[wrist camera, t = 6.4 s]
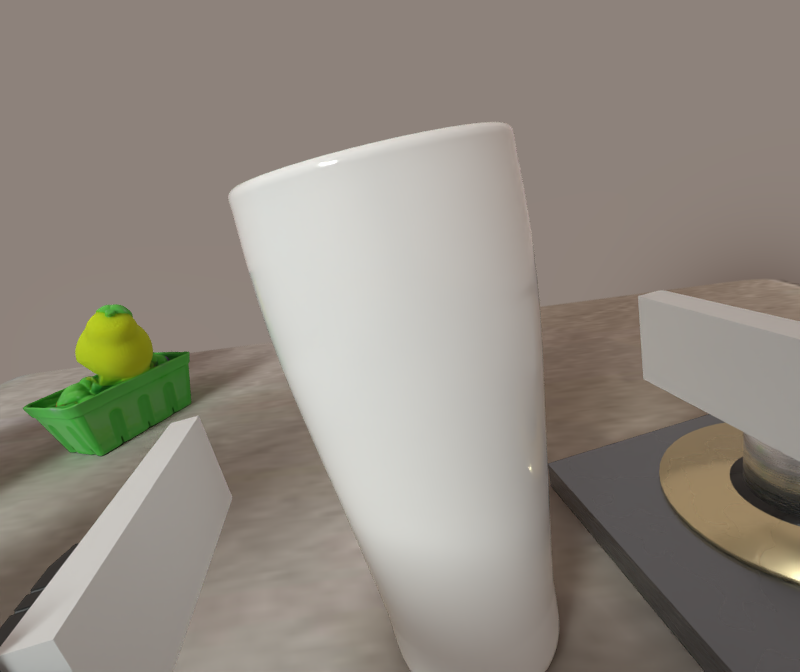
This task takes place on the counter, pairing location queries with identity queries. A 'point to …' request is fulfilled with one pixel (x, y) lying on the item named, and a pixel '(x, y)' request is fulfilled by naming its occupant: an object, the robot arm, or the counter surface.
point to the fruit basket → (115, 387)
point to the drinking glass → (421, 378)
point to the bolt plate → (701, 536)
